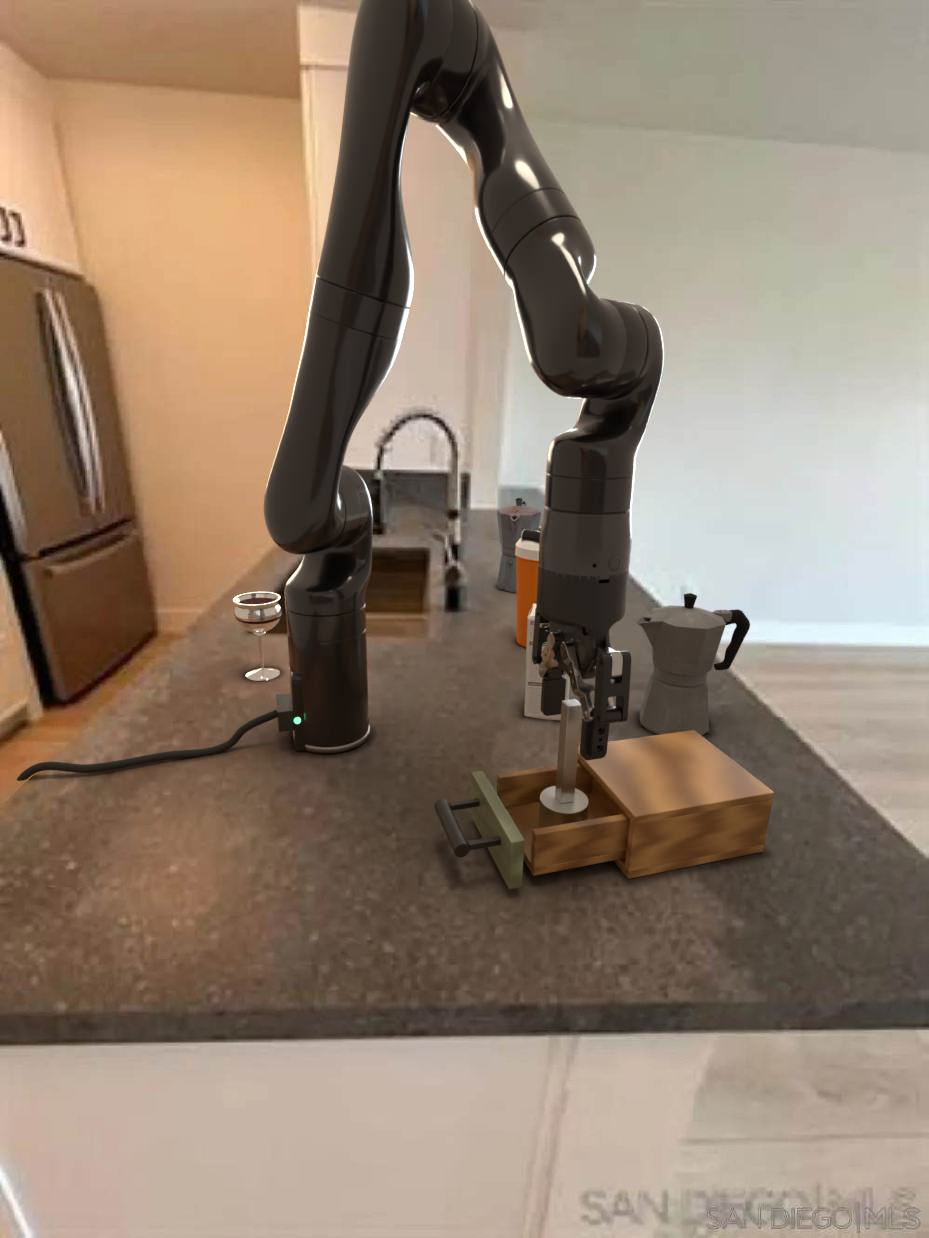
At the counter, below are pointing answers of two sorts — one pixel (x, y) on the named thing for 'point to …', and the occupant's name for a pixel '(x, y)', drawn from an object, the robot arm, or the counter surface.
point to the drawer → (536, 824)
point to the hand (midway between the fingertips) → (571, 734)
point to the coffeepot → (685, 663)
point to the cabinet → (681, 802)
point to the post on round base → (565, 775)
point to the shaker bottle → (526, 579)
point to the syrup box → (536, 677)
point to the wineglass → (258, 623)
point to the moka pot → (513, 539)
